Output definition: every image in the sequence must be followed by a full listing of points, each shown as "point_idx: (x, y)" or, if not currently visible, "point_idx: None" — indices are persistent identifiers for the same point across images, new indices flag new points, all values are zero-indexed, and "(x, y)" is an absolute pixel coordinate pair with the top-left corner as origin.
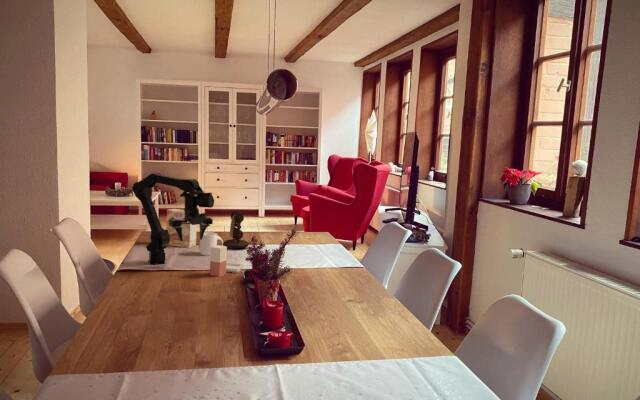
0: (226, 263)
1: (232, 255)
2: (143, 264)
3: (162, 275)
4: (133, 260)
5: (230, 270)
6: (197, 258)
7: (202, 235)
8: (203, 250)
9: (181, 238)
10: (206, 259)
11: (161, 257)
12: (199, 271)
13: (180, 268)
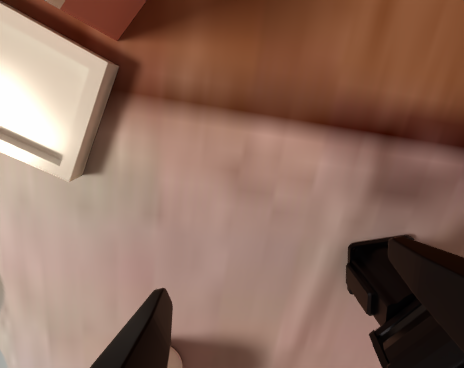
0: (48, 159)
1: (46, 337)
2: (435, 244)
3: (427, 20)
4: None
5: (16, 10)
6: (197, 308)
7: (127, 333)
8: None
9: (434, 254)
10: None
11: (379, 268)
12: (213, 78)
13: (299, 157)
